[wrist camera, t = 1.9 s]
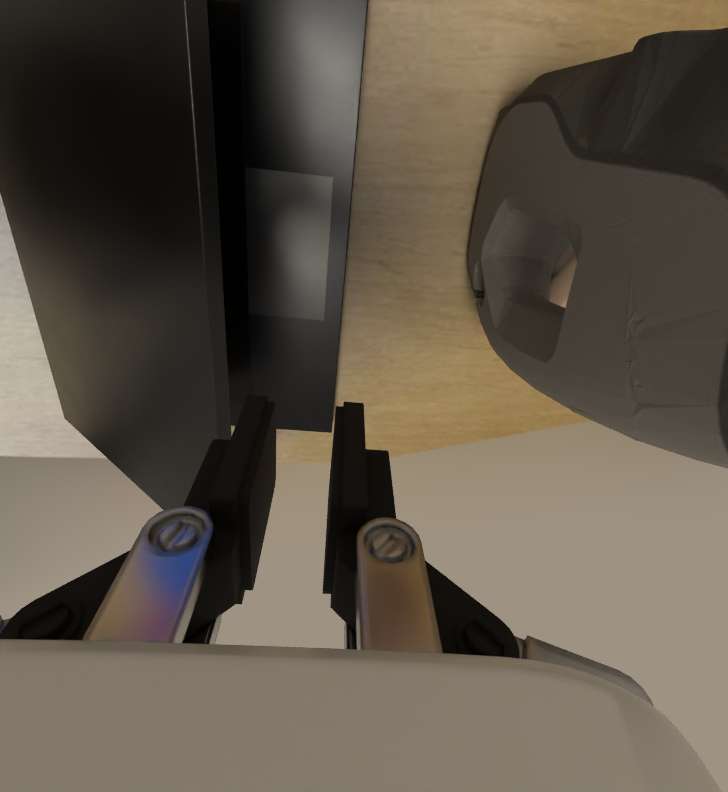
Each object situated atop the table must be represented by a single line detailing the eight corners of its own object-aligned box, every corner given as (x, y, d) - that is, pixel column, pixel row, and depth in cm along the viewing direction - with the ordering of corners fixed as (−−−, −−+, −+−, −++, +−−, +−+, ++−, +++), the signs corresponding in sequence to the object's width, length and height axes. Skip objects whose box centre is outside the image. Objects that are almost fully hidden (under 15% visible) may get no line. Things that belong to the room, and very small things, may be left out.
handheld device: (598, 94, 28) (1422, -2, 6) (516, 323, 35) (766, 624, 14) (504, 75, 27) (1070, -105, 6) (441, 312, 35) (585, 610, 13)
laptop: (370, -28, 25) (371, -39, 23) (332, 421, 40) (331, 433, 39) (-35, -89, 23) (-64, -105, 22) (87, 403, 39) (75, 415, 37)
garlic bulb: (532, 227, 32) (529, 326, 37) (555, 261, 27) (547, 370, 32) (633, 211, 31) (616, 315, 35) (677, 243, 26) (650, 359, 30)
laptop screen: (198, -232, 11) (164, -256, 11) (240, 560, 27) (227, 570, 26) (-63, -104, 22) (-87, -112, 21) (76, 414, 37) (64, 418, 36)
